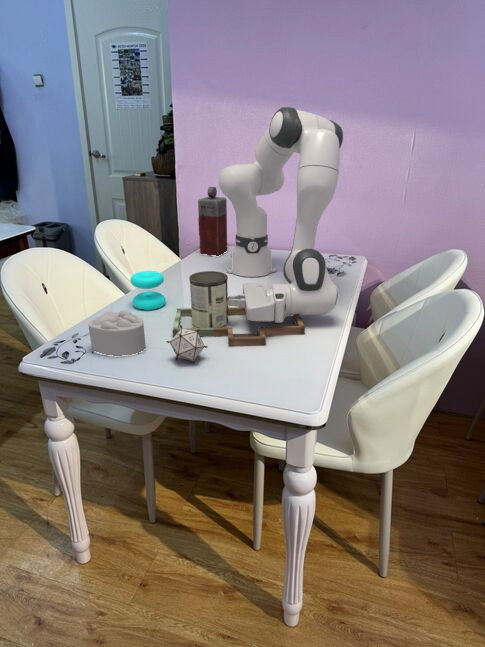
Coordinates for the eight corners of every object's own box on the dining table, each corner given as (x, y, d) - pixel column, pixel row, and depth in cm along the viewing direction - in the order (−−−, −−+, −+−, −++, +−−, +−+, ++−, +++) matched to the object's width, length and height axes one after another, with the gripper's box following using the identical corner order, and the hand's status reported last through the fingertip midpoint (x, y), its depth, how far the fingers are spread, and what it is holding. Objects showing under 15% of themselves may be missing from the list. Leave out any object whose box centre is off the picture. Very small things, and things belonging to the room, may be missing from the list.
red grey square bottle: (205, 249, 203) (202, 184, 191) (227, 252, 198) (226, 186, 187) (195, 254, 195) (192, 187, 184) (218, 257, 191) (216, 188, 180)
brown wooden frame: (179, 307, 138) (178, 301, 138) (292, 305, 140) (292, 299, 139) (170, 347, 113) (170, 340, 113) (308, 344, 115) (309, 337, 114)
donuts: (153, 281, 130) (123, 277, 133) (155, 313, 134) (126, 309, 137) (169, 271, 139) (141, 268, 142) (171, 301, 143) (143, 298, 146)
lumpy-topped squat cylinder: (111, 335, 120) (107, 305, 117) (154, 342, 116) (151, 311, 113) (86, 352, 111) (81, 320, 108) (132, 361, 107) (128, 327, 104)
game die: (182, 370, 110) (169, 332, 112) (214, 358, 110) (200, 320, 111) (172, 370, 101) (158, 329, 103) (207, 357, 101) (192, 315, 102)
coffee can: (203, 315, 133) (201, 269, 127) (234, 321, 129) (234, 273, 123) (184, 328, 124) (181, 279, 118) (217, 335, 120) (216, 284, 114)
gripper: (273, 277, 133) (226, 278, 132) (283, 302, 114) (228, 303, 113) (273, 297, 135) (226, 298, 134) (282, 325, 116) (228, 326, 116)
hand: (227, 301), depth 124 cm, fingers closed, pressing on coffee can
